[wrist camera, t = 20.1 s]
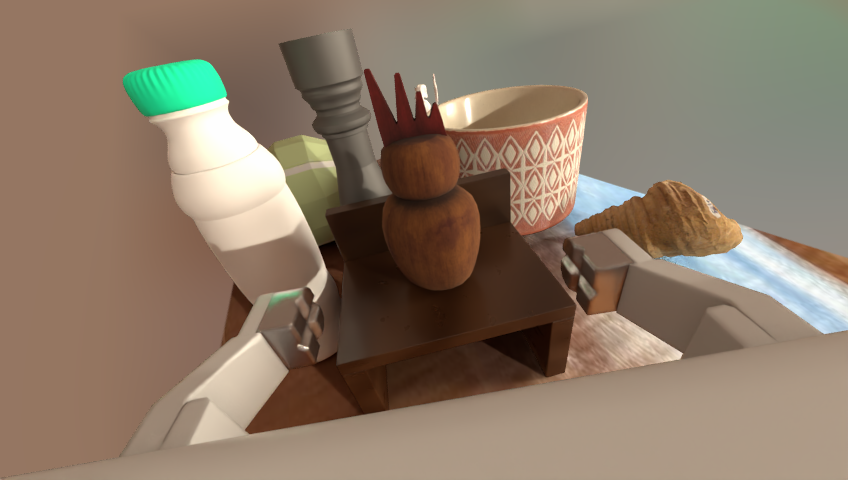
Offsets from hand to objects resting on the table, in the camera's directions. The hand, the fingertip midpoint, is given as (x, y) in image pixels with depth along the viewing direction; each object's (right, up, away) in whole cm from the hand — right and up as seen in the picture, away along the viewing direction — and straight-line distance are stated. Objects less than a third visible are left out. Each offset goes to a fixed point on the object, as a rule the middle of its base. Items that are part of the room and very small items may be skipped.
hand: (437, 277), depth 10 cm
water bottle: (-11, -9, +22) cm, 26 cm away
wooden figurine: (+1, -2, +15) cm, 15 cm away
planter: (+11, +6, +36) cm, 38 cm away
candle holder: (-5, -3, +28) cm, 29 cm away
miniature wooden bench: (+2, -8, +19) cm, 21 cm away
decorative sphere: (-15, +2, +38) cm, 42 cm away
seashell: (+25, 0, +24) cm, 35 cm away
